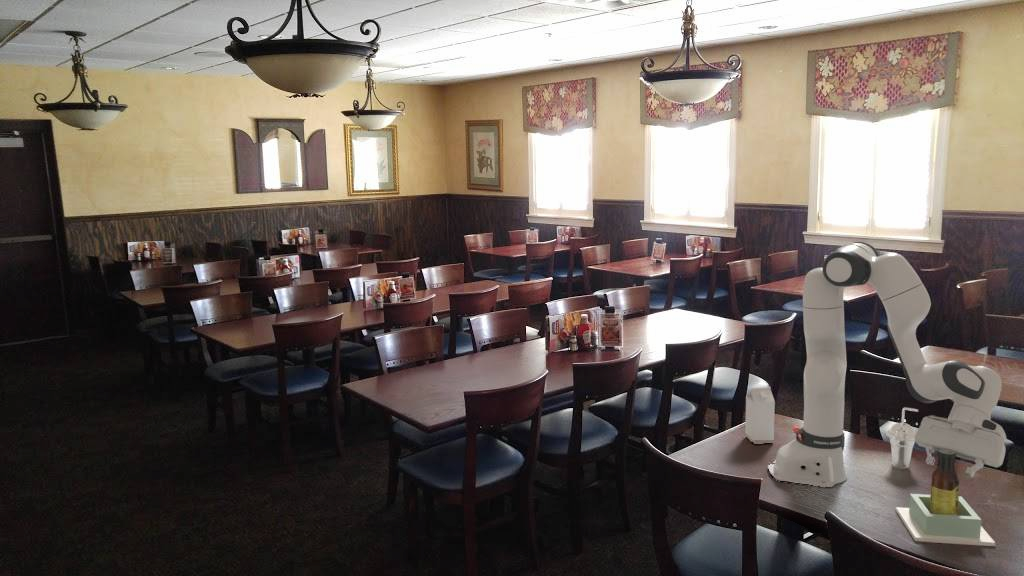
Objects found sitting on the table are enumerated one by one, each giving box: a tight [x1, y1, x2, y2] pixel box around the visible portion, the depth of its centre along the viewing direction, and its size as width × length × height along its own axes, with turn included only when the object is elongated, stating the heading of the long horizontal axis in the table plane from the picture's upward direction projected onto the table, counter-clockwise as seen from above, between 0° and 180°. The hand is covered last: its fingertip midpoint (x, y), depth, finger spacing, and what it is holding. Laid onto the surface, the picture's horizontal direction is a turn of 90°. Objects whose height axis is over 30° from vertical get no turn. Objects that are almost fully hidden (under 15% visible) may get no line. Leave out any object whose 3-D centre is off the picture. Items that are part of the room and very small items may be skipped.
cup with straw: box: [886, 407, 920, 470], centre depth 223 cm, size 8×9×20 cm
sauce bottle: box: [929, 449, 960, 516], centre depth 186 cm, size 6×6×20 cm
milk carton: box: [744, 386, 776, 441], centre depth 246 cm, size 7×7×19 cm
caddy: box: [895, 493, 996, 547], centre depth 188 cm, size 18×16×6 cm
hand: (948, 469), depth 186 cm, fingers open, 8 cm apart
